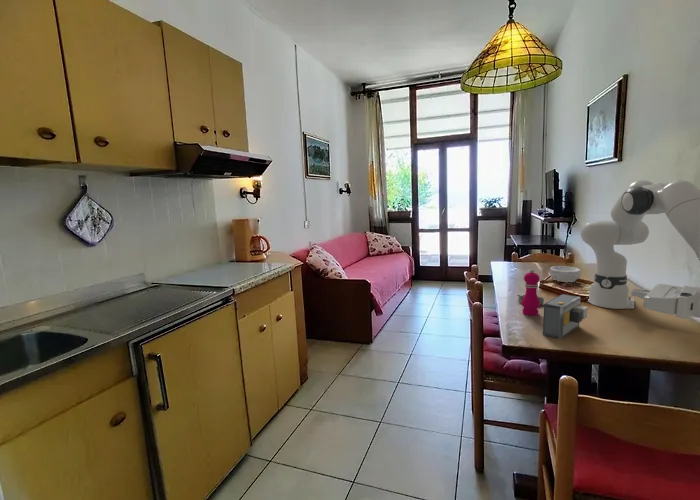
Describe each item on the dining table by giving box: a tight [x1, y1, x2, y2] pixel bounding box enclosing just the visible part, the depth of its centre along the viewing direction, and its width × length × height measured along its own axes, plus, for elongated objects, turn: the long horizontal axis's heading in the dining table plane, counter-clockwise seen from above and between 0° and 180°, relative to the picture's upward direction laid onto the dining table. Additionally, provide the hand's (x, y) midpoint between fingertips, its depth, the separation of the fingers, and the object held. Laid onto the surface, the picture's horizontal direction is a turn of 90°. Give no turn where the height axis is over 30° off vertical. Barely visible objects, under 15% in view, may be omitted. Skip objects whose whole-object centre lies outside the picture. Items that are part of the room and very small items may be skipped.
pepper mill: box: [521, 268, 541, 317], centre depth 157 cm, size 7×7×20 cm
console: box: [542, 293, 582, 340], centre depth 137 cm, size 18×6×13 cm, turn 130°
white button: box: [575, 305, 589, 320], centre depth 138 cm, size 4×4×4 cm
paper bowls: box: [549, 265, 581, 283], centre depth 210 cm, size 15×15×8 cm
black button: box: [569, 308, 583, 324], centre depth 134 cm, size 4×4×4 cm
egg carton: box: [516, 294, 545, 306], centre depth 173 cm, size 11×8×4 cm
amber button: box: [564, 312, 570, 325], centre depth 133 cm, size 4×4×4 cm
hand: (632, 292), depth 118 cm, fingers closed
